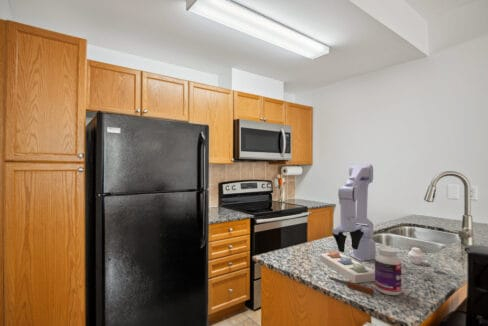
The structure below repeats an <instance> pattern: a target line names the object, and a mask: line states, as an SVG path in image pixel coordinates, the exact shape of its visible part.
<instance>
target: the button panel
mask: <svg viewBox="0 0 488 326" xmlns="http://www.w3.org/2000/svg"><path fill="white" fill-rule="evenodd" d="M339 253H340V258H342V257H346V258H350V257H349V256H347V255H345V254H343V253H342V252H339ZM340 258H334V259H333V258H331V257H329V252H327V253H319V261H321V262H322V263H323V264H324V265H326V266H327V267H329V268H331V269H333V270H334V271H335V272H337V273H339V274H341V275H342V276H343V277H345V278H347V279H348V280H349V281H350V282H352V283H355V284H359V283H364V282H373V281H374V282H375V269H374V270H373V269H372V268H369V267H368V266H366V265H364V264H361V263H360V262H358V261H356V260H354V259H353V258H352V257H351V258H350V259H351V260H352V265H343V264H341V263H340ZM354 264H360V265H363V266H365V272H364V273H357V272H355V271H353V265H354Z"/></svg>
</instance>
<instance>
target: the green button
mask: <svg viewBox="0 0 488 326" xmlns="http://www.w3.org/2000/svg"><path fill="white" fill-rule="evenodd" d="M360 264H361V263H360ZM360 264H354V265H353V271H355V272H357V273H364V272H365V266H366V265H364V264H362V265H360ZM363 265H364V266H363Z"/></svg>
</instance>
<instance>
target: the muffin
mask: <svg viewBox="0 0 488 326" xmlns="http://www.w3.org/2000/svg"><path fill="white" fill-rule="evenodd" d="M407 255H408V257H409V259H410V261H411V263H412V264H414V265H421V264H422V262H423V261H424V260H425V257H426V256H425V254H424V253H423V252H422V250H421V248H418V247H416V246H415V247H411V250H409V252H408V253H407Z"/></svg>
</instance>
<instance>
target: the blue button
mask: <svg viewBox="0 0 488 326" xmlns="http://www.w3.org/2000/svg"><path fill="white" fill-rule="evenodd" d="M351 259H352V258H351ZM351 259H350V257H349V258H346V257H342V258H340V263H341V264H343V265H352V260H353V259H352V260H351Z"/></svg>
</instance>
